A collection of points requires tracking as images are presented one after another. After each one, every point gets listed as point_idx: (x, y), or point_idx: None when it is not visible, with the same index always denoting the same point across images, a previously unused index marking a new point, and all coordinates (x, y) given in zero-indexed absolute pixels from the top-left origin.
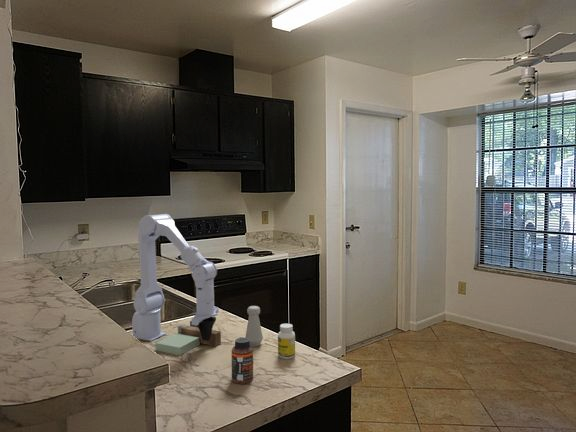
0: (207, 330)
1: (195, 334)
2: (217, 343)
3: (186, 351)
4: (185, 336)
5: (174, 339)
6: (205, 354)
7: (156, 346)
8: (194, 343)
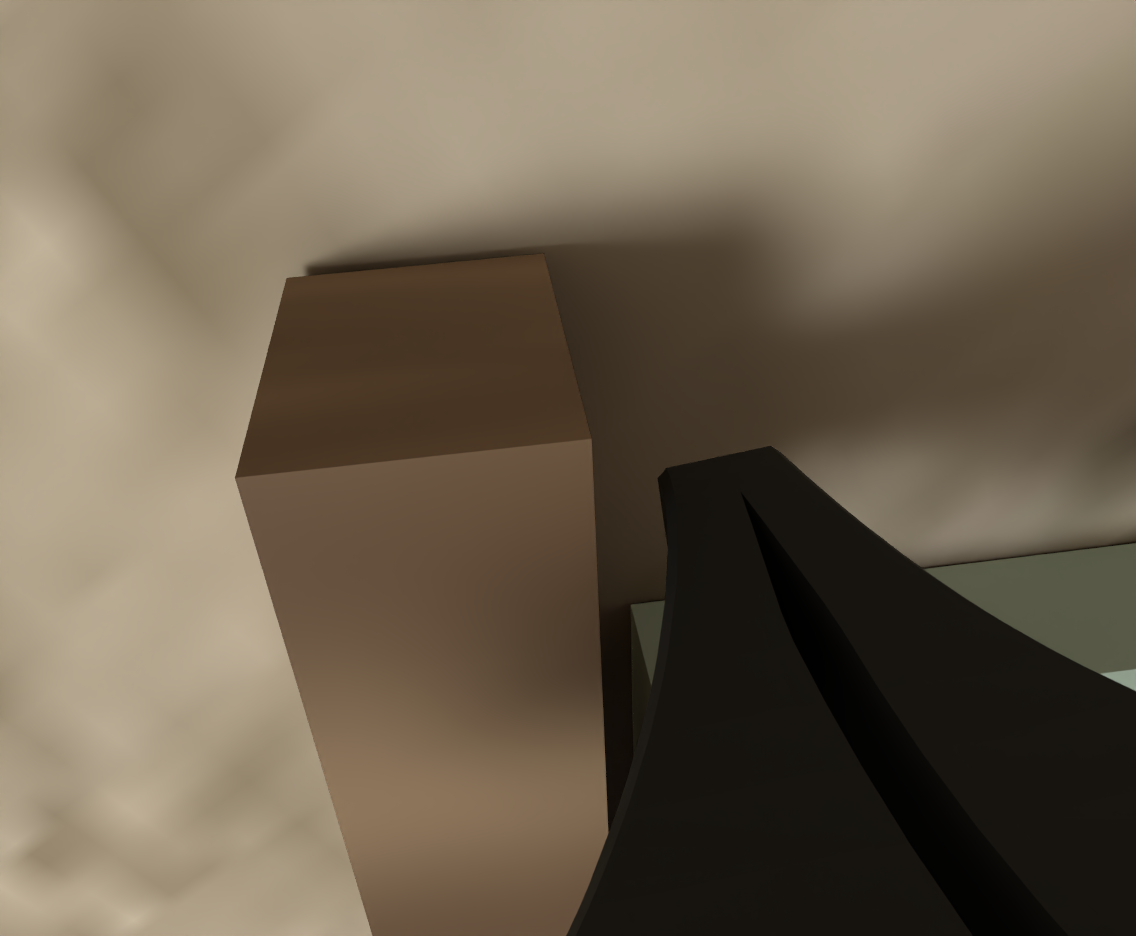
0: (1017, 654)
1: None
2: (465, 275)
3: (1054, 556)
4: None
5: None
6: (1118, 119)
7: None
8: None
